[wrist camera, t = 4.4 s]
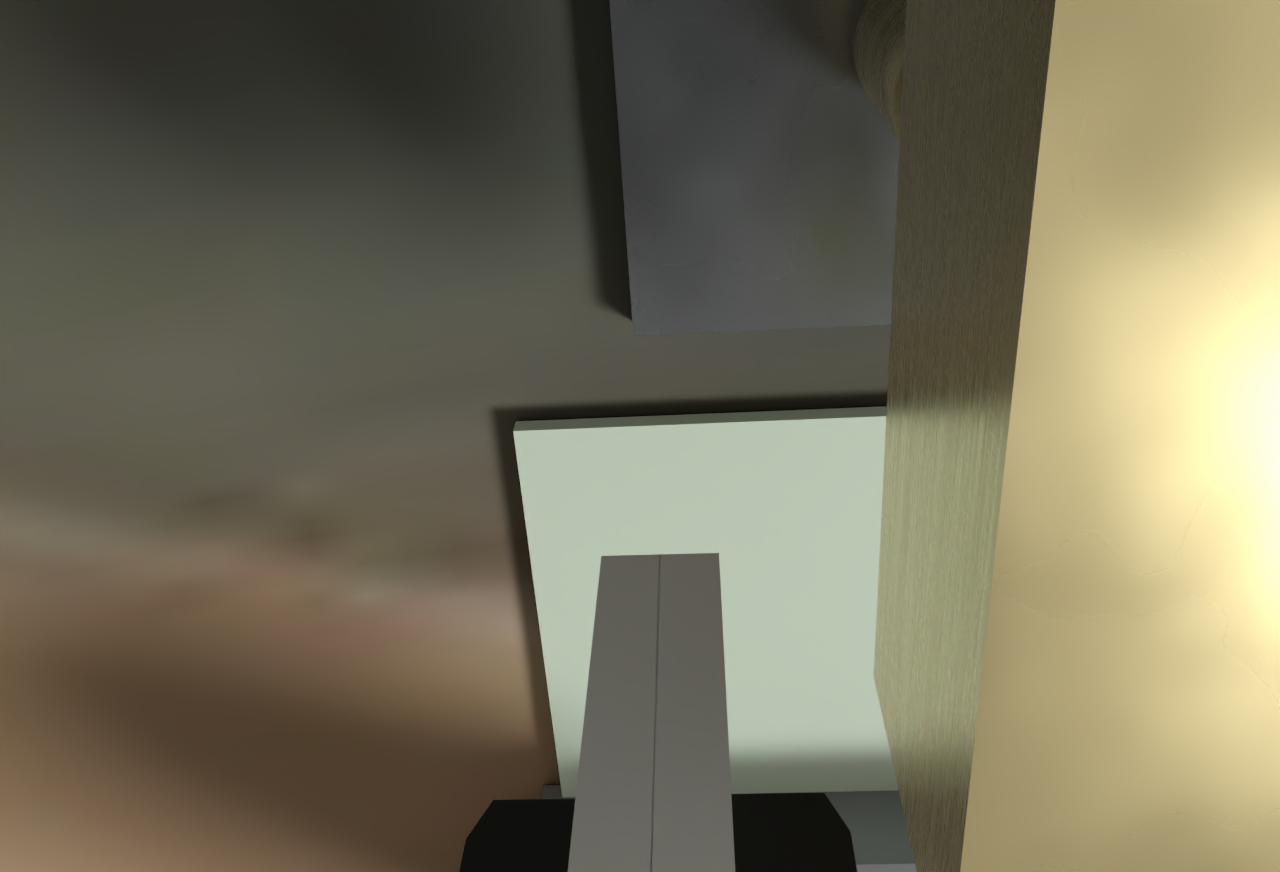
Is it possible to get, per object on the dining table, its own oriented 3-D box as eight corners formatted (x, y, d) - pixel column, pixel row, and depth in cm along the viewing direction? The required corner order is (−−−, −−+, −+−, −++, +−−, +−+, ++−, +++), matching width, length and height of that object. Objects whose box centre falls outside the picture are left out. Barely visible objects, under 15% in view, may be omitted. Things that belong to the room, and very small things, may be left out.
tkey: (846, -581, 14) (1213, -1433, 4) (1094, -603, 14) (2042, -1546, 4) (826, 462, 21) (945, 1002, 12) (987, 456, 21) (1244, 999, 11)
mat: (515, 421, 22) (512, 430, 22) (1027, 400, 22) (1032, 410, 21) (563, 784, 27) (562, 797, 27) (983, 775, 27) (987, 788, 26)
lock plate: (589, -309, 16) (586, -312, 16) (1297, -364, 16) (1318, -371, 15) (634, 323, 21) (633, 336, 21) (1177, 298, 21) (1190, 311, 20)
